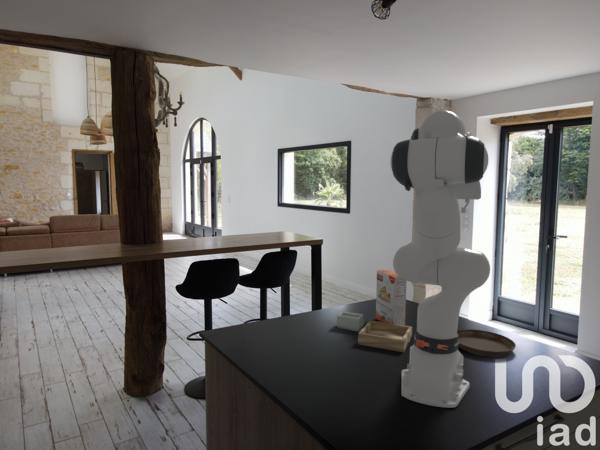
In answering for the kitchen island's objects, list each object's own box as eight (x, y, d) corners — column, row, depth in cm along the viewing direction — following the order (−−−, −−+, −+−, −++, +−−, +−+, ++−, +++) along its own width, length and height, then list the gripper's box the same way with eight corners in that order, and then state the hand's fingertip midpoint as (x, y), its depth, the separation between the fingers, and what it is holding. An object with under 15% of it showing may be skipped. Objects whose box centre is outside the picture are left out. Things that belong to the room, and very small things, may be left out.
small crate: (358, 331, 161) (359, 318, 161) (336, 327, 165) (337, 315, 164) (363, 326, 167) (363, 314, 166) (341, 323, 170) (342, 311, 170)
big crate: (403, 352, 141) (404, 340, 141) (357, 344, 148) (358, 333, 148) (411, 337, 156) (412, 326, 156) (369, 330, 162) (370, 320, 162)
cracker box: (374, 318, 177) (376, 270, 175) (387, 317, 179) (388, 269, 177) (392, 329, 164) (394, 277, 162) (405, 328, 166) (407, 276, 164)
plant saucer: (518, 345, 150) (519, 336, 150) (510, 365, 133) (511, 355, 132) (458, 333, 161) (458, 325, 161) (444, 350, 144) (444, 341, 144)
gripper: (417, 171, 145) (416, 211, 146) (482, 171, 137) (480, 213, 138) (420, 172, 151) (418, 210, 152) (482, 172, 143) (480, 212, 144)
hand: (448, 212), depth 145 cm, fingers open, 8 cm apart
